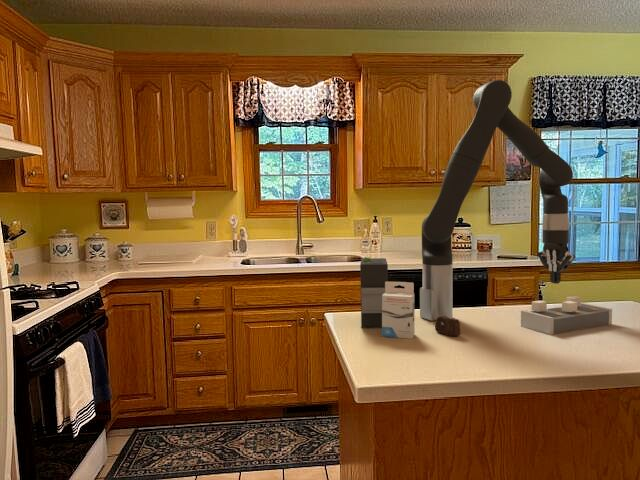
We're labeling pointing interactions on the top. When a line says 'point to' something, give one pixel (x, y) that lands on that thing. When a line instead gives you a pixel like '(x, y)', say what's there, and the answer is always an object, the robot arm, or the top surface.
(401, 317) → the ink box
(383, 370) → the top surface
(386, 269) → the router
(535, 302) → the switch
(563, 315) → the power strip
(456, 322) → the stone
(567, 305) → the switch
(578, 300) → the switch
